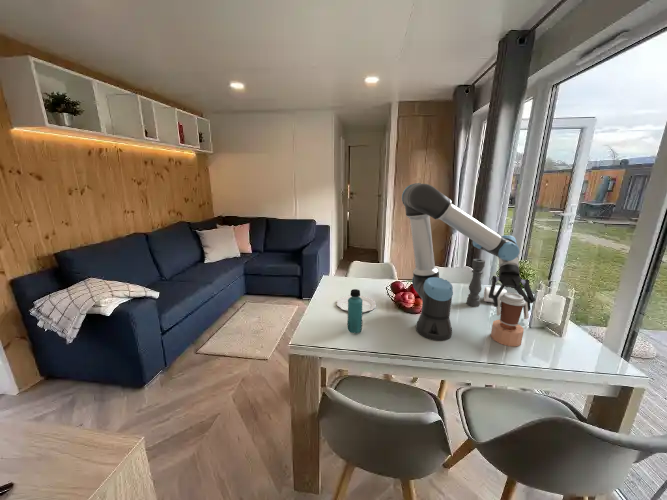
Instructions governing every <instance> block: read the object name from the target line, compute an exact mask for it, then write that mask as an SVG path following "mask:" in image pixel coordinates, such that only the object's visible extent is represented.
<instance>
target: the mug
mask: <svg viewBox="0 0 667 500" xmlns="http://www.w3.org/2000/svg"><path fill="white" fill-rule="evenodd" d="M490 289H491V287H489V286H485V287H484V291H483V301H484V302H487V303H493V304H494V300H493V299H492V298H489V293H490ZM498 290H499V288H496V287H495V289H494V293H493V295H496V293H497V292H498ZM507 292H508V291H507V289H505V288H503V290H502V291H501V293H500V295H499V296H498V298H500V296H502V295H503V294H504V293H507ZM500 305H501V300H500Z"/></svg>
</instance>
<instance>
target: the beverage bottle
mask: <svg viewBox="0 0 667 500" xmlns="http://www.w3.org/2000/svg"><path fill="white" fill-rule="evenodd" d="M350 295H351V296H352V297H350V298H349V299H348V304H347V310H348V311H347V325H346V326H347V331H348V332H349V333H352V334H359V333H361V332H362V330H363V312H362V311H363V305H362V302H363V300H362V299H361V298H360V297H359V296H361V291H360V289H356V288H355V289H351V290H350ZM350 295H349V296H350Z"/></svg>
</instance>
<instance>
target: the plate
mask: <svg viewBox="0 0 667 500" xmlns="http://www.w3.org/2000/svg"><path fill="white" fill-rule="evenodd" d="M350 297H352V296H351V295H347V296H346V295H345V296H342V297H340V298H339V299H337V300H336V306H337V307H338V308H340V309H341V310H342V311H346V312H348V309H346V308H344V307H343V304H347V305H348V299H349V298H350ZM359 297H360V298H361V299H362V300H363V302H362V306H369V308H368V309H367V310H362V313H366V312H371V311H372V310H374V309H375V308H376V307H377V304H376V301H375V300H374V299H372V298H370V297H369V296H363V295H360V296H359Z"/></svg>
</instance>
